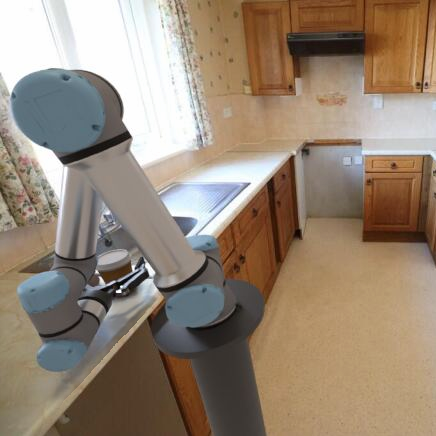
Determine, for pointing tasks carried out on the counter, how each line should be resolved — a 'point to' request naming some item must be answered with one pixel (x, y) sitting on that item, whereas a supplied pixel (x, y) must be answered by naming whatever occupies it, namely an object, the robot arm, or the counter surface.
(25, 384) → the counter surface
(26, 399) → the counter surface
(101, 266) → the disposable coffee cup
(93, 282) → the brown rounded cylinder
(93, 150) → the robot arm
